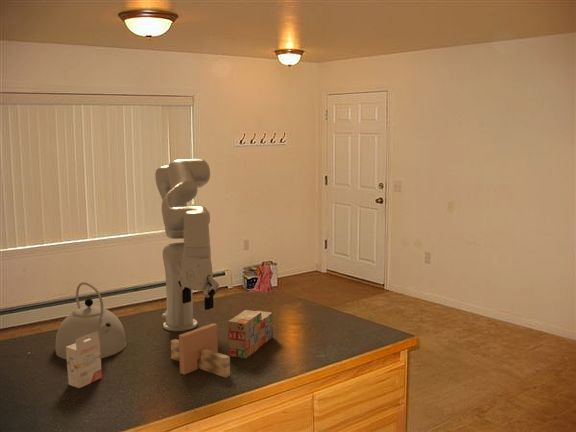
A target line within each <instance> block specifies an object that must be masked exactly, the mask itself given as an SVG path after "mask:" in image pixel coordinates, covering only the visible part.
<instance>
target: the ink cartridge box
mask: <svg viewBox="0 0 576 432" xmlns="http://www.w3.org/2000/svg"><path fill="white" fill-rule="evenodd" d="M86 338H88V339H86ZM90 338H91V339H90ZM75 342H76V343H75V344H72V345H70V346H67V347H66V356H67V359H66V369H67V379H68V386H72V387H75V388H77V389H80V388H83V387H85V386H88V385H90V384H92V383H94V382H97V381H98V380H101V379H102V378H103V376H102V375H103V374H102V372H103V371H102V358H101V354H100V341H99V335H98V332H94V333H91V334H88V335H86V336H83V337H81V338H78V339H76V340H75Z"/></svg>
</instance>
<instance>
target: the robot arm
mask: <svg viewBox="0 0 576 432" xmlns="http://www.w3.org/2000/svg"><path fill="white" fill-rule="evenodd" d="M210 169H211V168H210V166H209V163H208V162H207V161H206V160H204V159H201V158H189V159H186V158H185V159H184V158H183V159H175V160H172V161H171V162H169V164H168V165H162V166H160V167H157V169H156V170H155V177H154V180H155V184H156V187H157V191H158V193H159V195H160V198H161V200H162V201H161V214H162V215H161V217H162V221H163V225H164V231H165V235H166V237H167V238H169V239H171V240H182V239H183V242H173V243H169V244H167V245H165V246H164V248H163V249H162V260H163V266H164V272H165V289H166V290H165V291H166V292H165V294H166V310H165V311H164V313H162V314H161V316H162V318H163V319H164V318H165V321H164V322H163V323H162V325H163V326H162V327H163V328H164V329H165V330H167V331H170V332H187V331H191V330H194V329H196V327H197V326H198V321H197V320H196V319H195V318H194V305H193V304H194V301H193V290H195V291H199V292H203V294H204V295H205V296H204V310H206V311H208V310H211V309H213V308H214V296H216V293H217V292H218V289H219V286H220V284H219V282H218V281H216V280H215V279H214V277H213V276H214V273H213V266H212V264H213V263H212V260H211V258H212V253H211V240H210V239H211V237H210V227H209V226H210V222H211V213H210V211H209V210H208V209H207V207H205V206H202V205H194V206H187V203H189V202H191V201H192V200H194V199H195V197H196V196H197V194H198V192H199V191H198V188H203V187H204V186H205V185H206V184H208V182H209V181H210V178H211V170H210Z"/></svg>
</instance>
